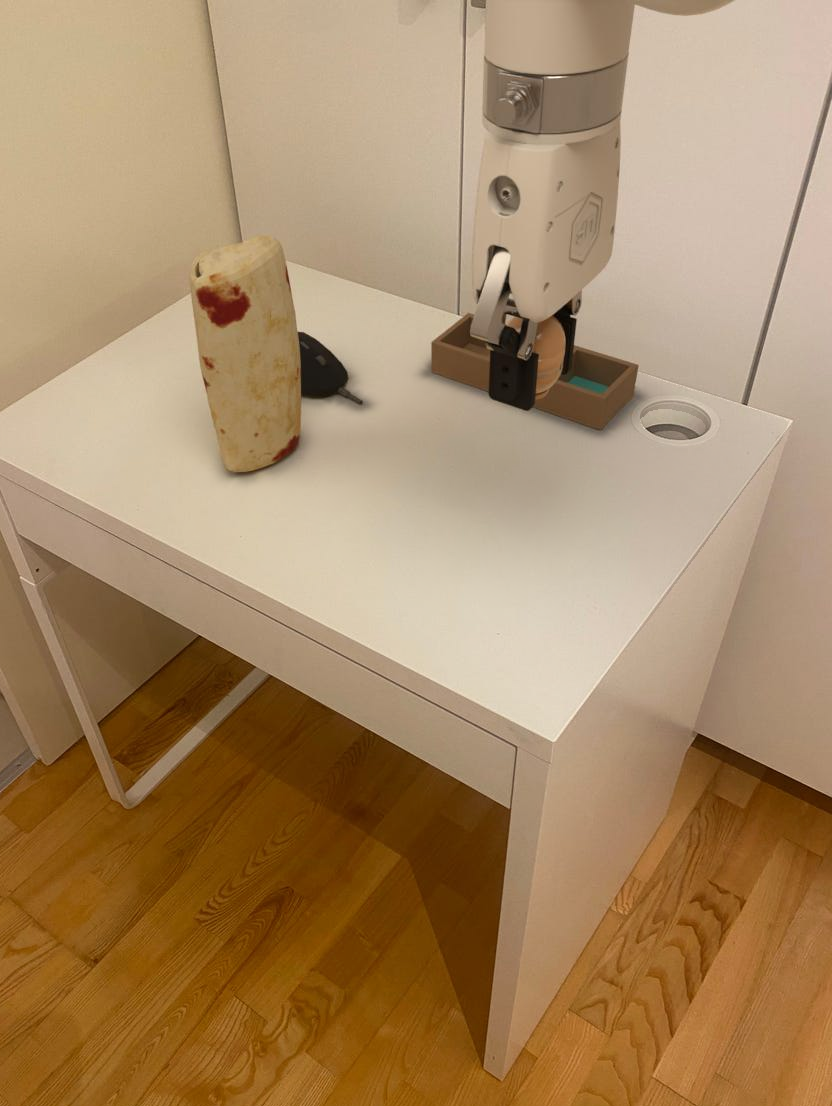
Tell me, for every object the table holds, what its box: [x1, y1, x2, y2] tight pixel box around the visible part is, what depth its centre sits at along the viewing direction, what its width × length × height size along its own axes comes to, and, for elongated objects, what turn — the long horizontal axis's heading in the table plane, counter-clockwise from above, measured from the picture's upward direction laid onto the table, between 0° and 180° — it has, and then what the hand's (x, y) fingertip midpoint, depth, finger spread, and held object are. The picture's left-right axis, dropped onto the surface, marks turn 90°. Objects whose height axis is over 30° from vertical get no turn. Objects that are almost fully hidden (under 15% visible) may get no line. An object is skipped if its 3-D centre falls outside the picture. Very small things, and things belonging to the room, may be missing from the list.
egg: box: [506, 315, 566, 400], centre depth 65 cm, size 4×4×6 cm
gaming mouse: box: [298, 331, 364, 405], centre depth 99 cm, size 6×15×4 cm, turn 46°
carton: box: [430, 312, 640, 431], centre depth 96 cm, size 7×19×3 cm, turn 52°
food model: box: [188, 235, 302, 473], centre depth 85 cm, size 10×7×20 cm
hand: (530, 382), depth 67 cm, fingers closed on egg, 4 cm apart
